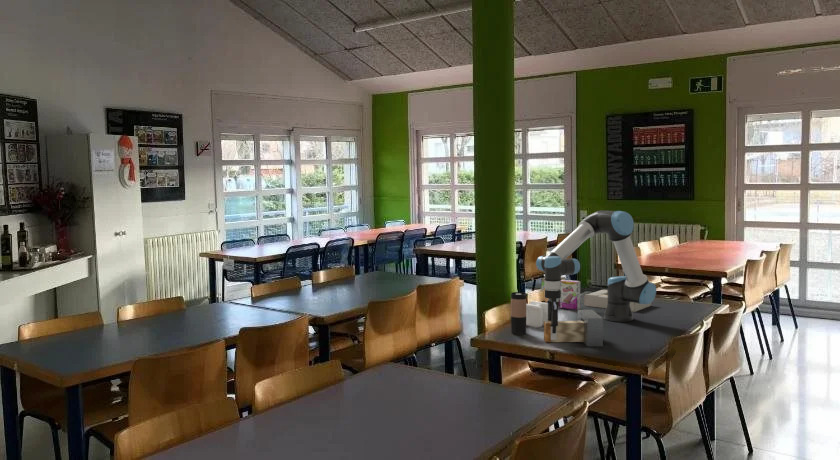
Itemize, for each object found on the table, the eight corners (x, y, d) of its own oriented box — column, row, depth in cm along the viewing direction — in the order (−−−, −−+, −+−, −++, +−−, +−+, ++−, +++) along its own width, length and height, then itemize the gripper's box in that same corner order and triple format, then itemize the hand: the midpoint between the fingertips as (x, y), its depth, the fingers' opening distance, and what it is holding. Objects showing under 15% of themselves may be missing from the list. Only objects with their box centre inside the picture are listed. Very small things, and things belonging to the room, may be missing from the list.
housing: (592, 336, 336) (592, 309, 335) (602, 346, 316) (603, 318, 315) (577, 336, 336) (577, 309, 335) (587, 346, 316) (587, 318, 315)
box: (651, 306, 409) (601, 300, 430) (651, 293, 408) (601, 288, 429) (635, 313, 392) (583, 306, 412) (635, 300, 391) (583, 293, 411)
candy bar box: (558, 308, 405) (559, 280, 403) (562, 307, 409) (562, 279, 407) (577, 310, 399) (577, 282, 397) (580, 308, 403) (580, 280, 401)
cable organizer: (553, 326, 359) (553, 304, 358) (539, 329, 352) (539, 306, 351) (531, 321, 370) (531, 300, 369) (517, 324, 363) (517, 302, 362)
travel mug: (509, 331, 348) (509, 292, 346) (524, 331, 348) (524, 291, 346) (512, 335, 340) (512, 294, 338) (528, 334, 341) (528, 294, 339)
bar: (582, 339, 328) (582, 320, 327) (584, 341, 324) (584, 322, 323) (543, 339, 328) (543, 321, 328) (545, 342, 324) (545, 323, 323)
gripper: (564, 292, 315) (564, 342, 317) (557, 286, 333) (556, 334, 335) (548, 292, 315) (548, 343, 317) (541, 286, 333) (541, 334, 335)
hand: (552, 338), depth 326 cm, fingers closed on bar, 5 cm apart
